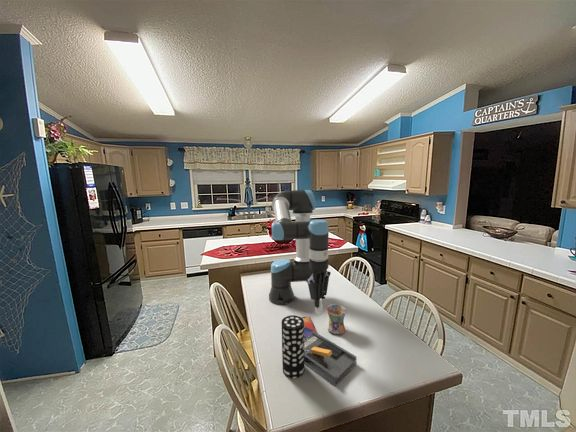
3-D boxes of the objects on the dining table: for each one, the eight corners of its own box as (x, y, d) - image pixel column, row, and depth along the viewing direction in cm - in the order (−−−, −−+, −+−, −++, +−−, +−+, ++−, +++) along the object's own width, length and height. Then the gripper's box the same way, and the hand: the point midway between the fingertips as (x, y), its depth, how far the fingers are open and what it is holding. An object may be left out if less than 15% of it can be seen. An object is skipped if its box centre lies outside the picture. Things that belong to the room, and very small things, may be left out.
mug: (348, 335, 111) (349, 314, 109) (328, 336, 110) (328, 315, 108) (341, 320, 122) (341, 301, 121) (323, 321, 122) (323, 301, 120)
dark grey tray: (291, 353, 100) (291, 345, 99) (313, 337, 110) (313, 329, 109) (335, 386, 84) (335, 376, 84) (356, 364, 94) (356, 355, 93)
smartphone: (302, 339, 109) (302, 337, 109) (295, 319, 124) (295, 317, 124) (318, 337, 111) (318, 335, 110) (309, 318, 125) (309, 316, 125)
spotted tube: (281, 362, 96) (280, 316, 92) (302, 360, 96) (302, 314, 93) (283, 379, 88) (282, 329, 84) (305, 377, 88) (305, 328, 85)
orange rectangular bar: (311, 352, 97) (310, 349, 97) (315, 350, 98) (314, 346, 98) (328, 357, 90) (327, 353, 90) (332, 354, 92) (331, 350, 92)
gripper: (315, 265, 89) (315, 323, 93) (336, 256, 98) (335, 310, 101) (300, 260, 94) (301, 316, 98) (321, 253, 103) (321, 304, 107)
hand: (318, 313), depth 100 cm, fingers closed
